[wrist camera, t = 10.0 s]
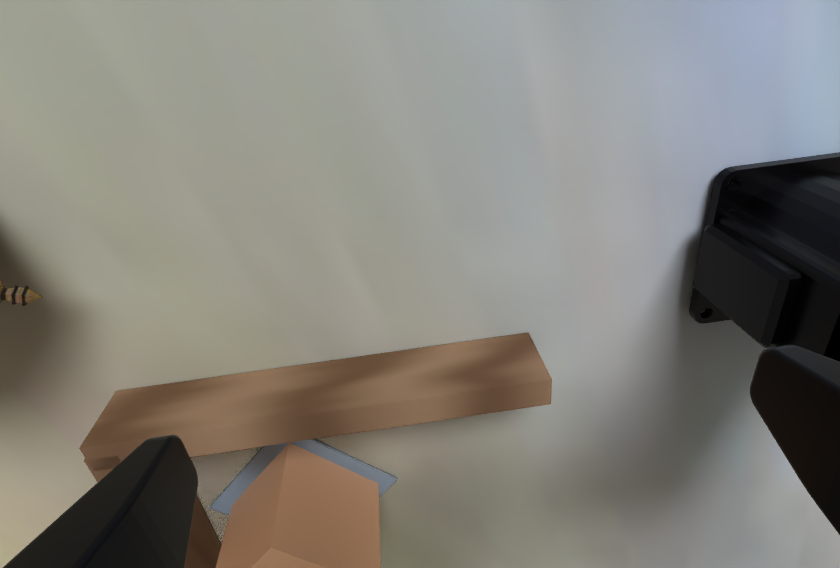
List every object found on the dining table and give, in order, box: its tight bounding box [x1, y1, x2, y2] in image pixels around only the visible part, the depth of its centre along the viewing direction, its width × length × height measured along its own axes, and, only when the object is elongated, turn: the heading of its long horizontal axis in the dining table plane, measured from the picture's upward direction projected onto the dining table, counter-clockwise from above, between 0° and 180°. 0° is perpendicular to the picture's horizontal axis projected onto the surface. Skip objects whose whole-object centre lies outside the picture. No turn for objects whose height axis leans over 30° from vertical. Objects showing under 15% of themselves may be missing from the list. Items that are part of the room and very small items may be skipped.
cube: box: [216, 443, 381, 568], centre depth 22 cm, size 5×5×5 cm
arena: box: [79, 333, 552, 568], centre depth 24 cm, size 17×19×3 cm
